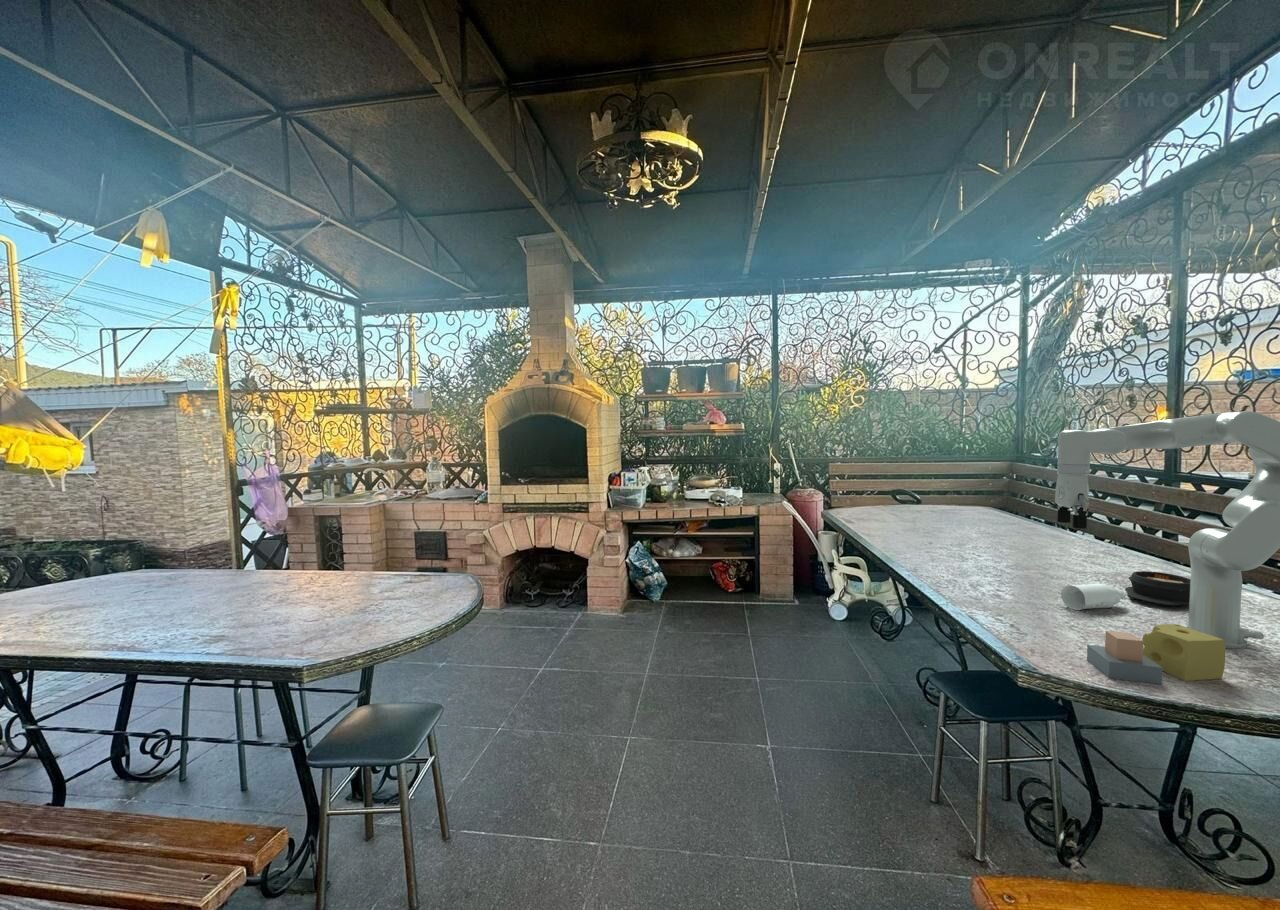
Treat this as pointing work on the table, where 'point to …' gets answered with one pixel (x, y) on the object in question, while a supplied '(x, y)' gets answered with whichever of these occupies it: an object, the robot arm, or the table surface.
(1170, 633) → the cheese
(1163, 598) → the casserole
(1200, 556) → the robot arm
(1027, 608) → the table surface
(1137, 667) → the pedestal
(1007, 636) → the table surface
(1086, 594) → the white hollow cylinder
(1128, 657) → the cube
